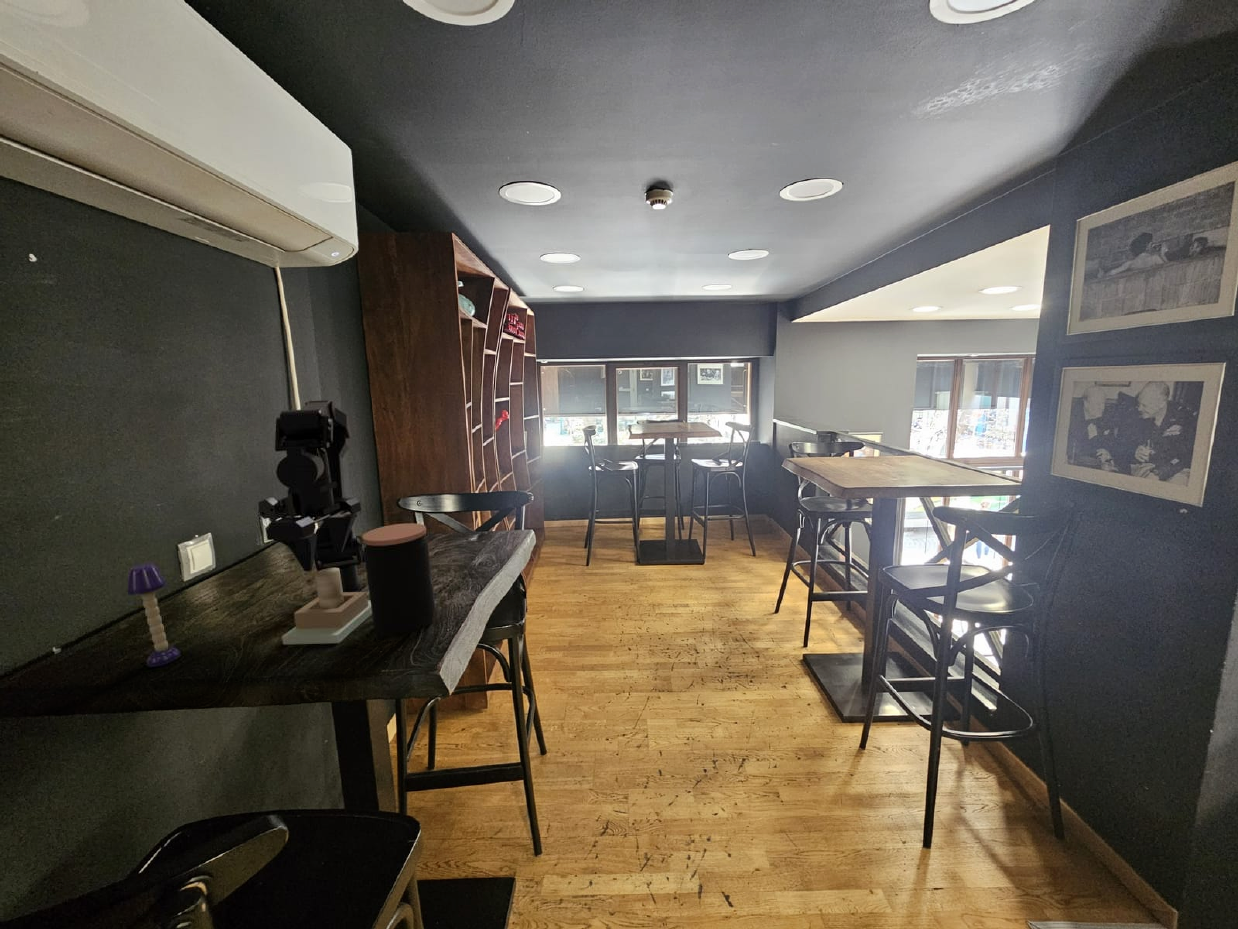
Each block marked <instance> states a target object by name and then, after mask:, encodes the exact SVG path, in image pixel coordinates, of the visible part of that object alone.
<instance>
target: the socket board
mask: <svg viewBox="0 0 1238 929" xmlns="http://www.w3.org/2000/svg"><path fill="white" fill-rule="evenodd" d="M343 597H344V604H343V605H341V606H340V607H339V608H334V609H320V606H319V599H318V596H316V598H314V599H313V600H311V601H310V602H309V603H307V604H305V605H303V607H300V609H298V610H295V612H294V613H293V616H294V622H295V626H294V627H293V628H292V629H291V630H289V631H287V632H286V633H285V634H283V635H282V636H281V639H282V644H283V645H310V644H311V645H312V644H313V645H314V644H315V645H316V644H340V642H342V641H343V640H344V639H345V638H347V637H348V636H349V635H350V634H351V633H352V632H353V631H354V630H356V629H357V628H358V627H359V626H360V625H361V624H362V623H363V622H365V620H367V619H368V618H369V617H370V616H371V615H372V609H371V601H370V599H368V592H367V591H358V592H343Z"/></svg>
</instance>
